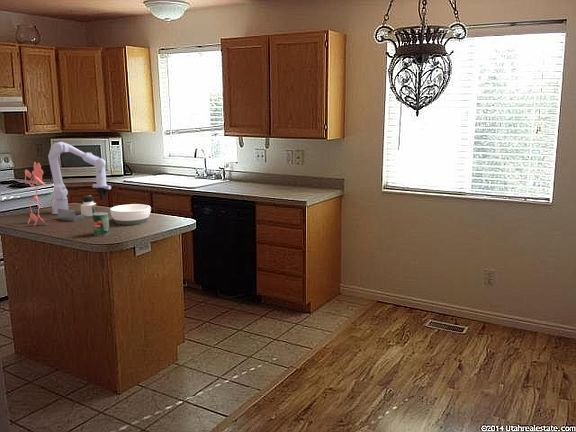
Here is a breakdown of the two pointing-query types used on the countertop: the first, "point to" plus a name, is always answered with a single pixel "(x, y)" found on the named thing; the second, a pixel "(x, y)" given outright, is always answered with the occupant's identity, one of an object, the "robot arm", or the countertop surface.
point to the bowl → (130, 214)
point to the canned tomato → (101, 223)
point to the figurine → (37, 177)
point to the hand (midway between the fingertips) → (102, 199)
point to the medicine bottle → (88, 206)
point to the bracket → (69, 215)
